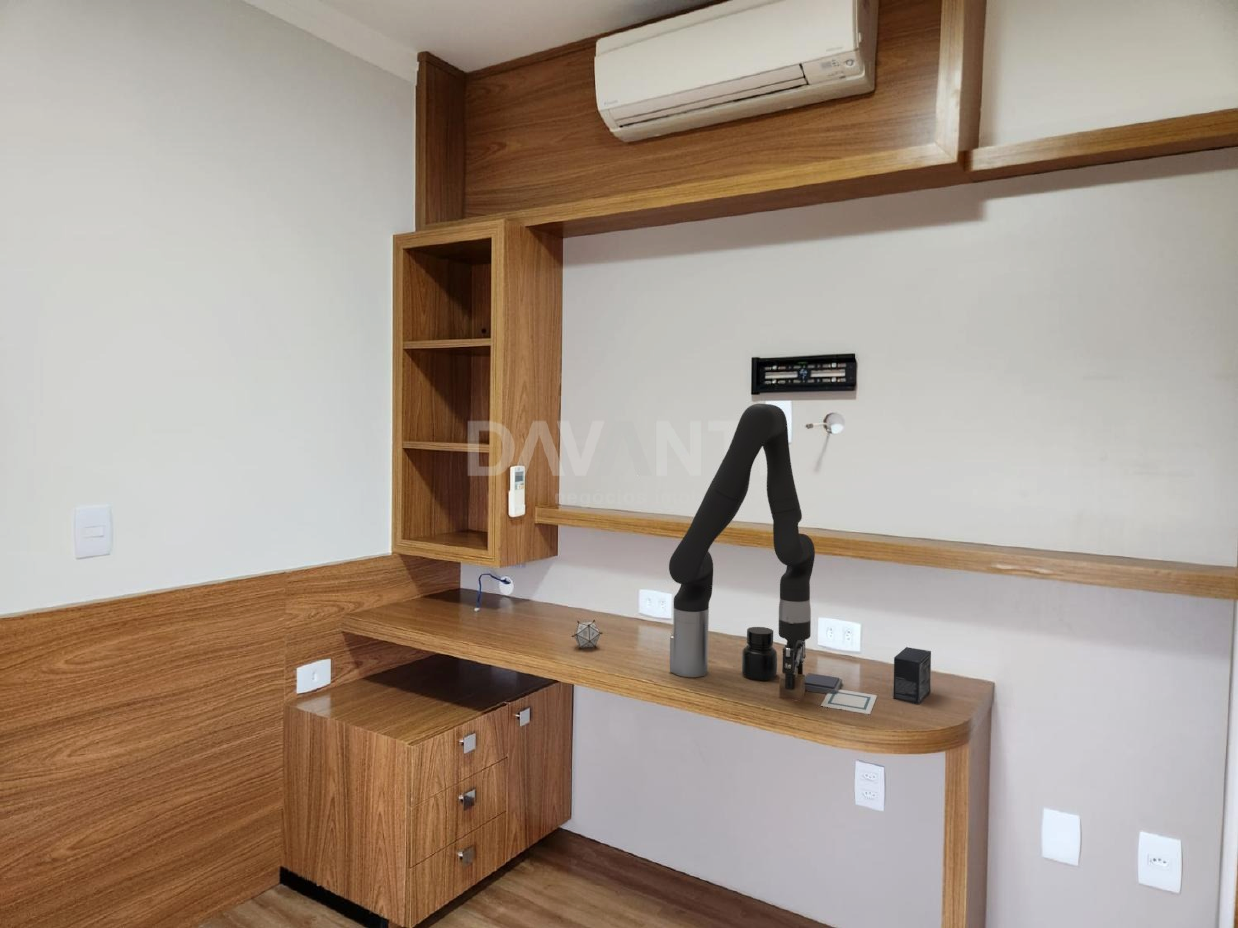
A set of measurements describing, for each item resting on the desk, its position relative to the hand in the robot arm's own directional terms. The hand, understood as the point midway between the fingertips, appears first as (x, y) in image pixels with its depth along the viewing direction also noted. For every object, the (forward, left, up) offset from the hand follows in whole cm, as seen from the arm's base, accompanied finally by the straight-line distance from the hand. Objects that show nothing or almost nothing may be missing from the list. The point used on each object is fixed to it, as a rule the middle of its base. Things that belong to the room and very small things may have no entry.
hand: (794, 683), depth 181 cm
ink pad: (+5, +10, -3) cm, 11 cm away
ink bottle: (-11, +11, -3) cm, 16 cm away
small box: (+26, +14, -3) cm, 29 cm away
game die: (-62, +11, -3) cm, 64 cm away
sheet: (+13, +3, -3) cm, 13 cm away
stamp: (0, 0, -3) cm, 3 cm away
